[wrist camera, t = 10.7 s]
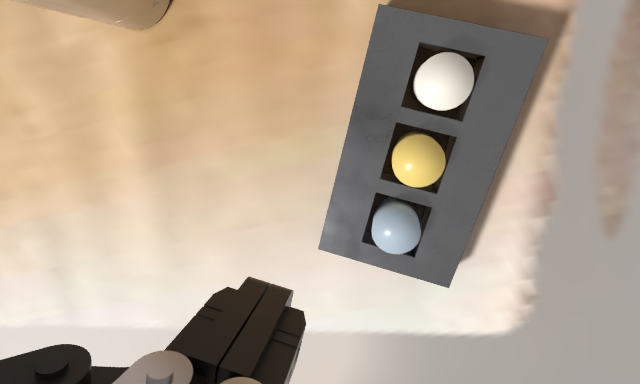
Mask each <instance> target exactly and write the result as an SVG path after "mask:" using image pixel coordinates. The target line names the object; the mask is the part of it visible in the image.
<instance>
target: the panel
mask: <svg viewBox="0 0 640 384" xmlns="http://www.w3.org/2000/svg"><path fill="white" fill-rule="evenodd" d="M547 41H548V39H547V38H542V37H537V36H532V35H527V34H522V33H517V32H512V31H508V30H503V29H498V28H493V27H488V26H483V25H478V24H474V23H469V22H464V21H459V20H454V19H449V18H444V17H439V16H435V15H430V14H425V13H420V12H415V11H410V10H405V9H400V8H396V7H391V6H386V5H381V4H379V5H378V9H377V13H376V18H375V22H374V26H373V30H372V34H371V38H370V42H369V46H368V50H367V54H366V58H365V62H364V66H363V70H362V74H361V78H360V82H359V86H358V90H357V94H356V98H355V102H354V106H353V110H352V114H351V118H350V122H349V127H348V131H347V135H346V139H345V143H344V147H343V151H342V155H341V159H340V163H339V167H338V171H337V175H336V179H335V183H334V187H333V191H332V195H331V199H330V203H329V207H328V211H327V215H326V219H325V223H324V227H323V231H322V236H321V240H320V244H319V248H318V249H320V250H323V251H326V252H330V253H333V254H337V255H340V256H343V257H347V258H350V259H353V260H357V261H360V262H363V263H367V264H370V265H373V266H377V267H380V268H383V269H387V270H390V271H393V272H397V273H400V274H403V275H407V276H410V277H413V278H417V279H420V280H424V281H427V282H430V283H434V284H437V285H440V286H444V287H447V288H449V286H450V284H451V281H452V279H453V276H454V274H455V271H456V269H457V266H458V264H459V261H460V259H461V256H462V254H463V251H464V249H465V246H466V244H467V241H468V239H469V236H470V234H471V231H472V229H473V226H474V224H475V221H476V219H477V216H478V214H479V211H480V209H481V206H482V204H483V201H484V199H485V196H486V194H487V191H488V189H489V186H490V184H491V181H492V179H493V176H494V174H495V171H496V169H497V166H498V164H499V161H500V159H501V156H502V154H503V151H504V149H505V146H506V144H507V141H508V139H509V136H510V134H511V131H512V129H513V126H514V124H515V121H516V119H517V116H518V114H519V111H520V109H521V106H522V104H523V101H524V99H525V96H526V94H527V91H528V89H529V86H530V84H531V81H532V79H533V76H534V74H535V71H536V69H537V66H538V64H539V61H540V59H541V56H542V54H543V51H544V49H545V46H546V44H547ZM418 47H423V48H428V49H432V50H437V51H441V52H452V53H456V54H459V55H461V56H464V57H469V58H474V59H477V61H476V64H475V67H474V70H473V73H474V84H473V88H472V91H471V93H470V94H469V96H468V97H467V99H466V100H465V101H464V102H463V103H462V105H461V108H460V110H459V113H458V116H457V119H453V118H449V117H444V116H440V115H436V114H432V113H428V112H424V111H419V110H415V109H411V108H407V107H403V106H401V104H402V101H403V97H404V94H405V90H406V87H407V83H408V80H409V77H410V73H411V70H412V66H413V63H414V59H415V56H416V52H417V49H418ZM396 122H397V123H401V124H406V125H410V126H414V127H418V128H422V129H426V130H430V131H434V132H438V133H442V134H446V135H450V136H451V137H450V139H449V142H448V145H447V148H446V151H445V159H446V163H445V168H444V171H443V173H442V175H441V176H440V177H439V178H438V179H437V180H436V181H435V183H434V186H431V185H428V186H425V187H411V186H408V185H406V184H404V183H402V182H401V181H400V180H399V179H398V178H397V177H396V176H393V175H389V174H385V173H382V169H383V166H384V163H385V159H386V156H387V152H388V149H389V145H390V142H391V138H392V135H393V132H394V128H395V125H396ZM376 192H377V193H381V194H384V195H388V196H392V197H395V198H399V199H403V200H406V201H410V202H414V203H417V204H421V205H425V206H426V209H425V212H424V215H423V218H422V221H421V224H420V229H421V236H420V240H419V242H418V243H417V245H416V246H415V247H414V248H413V249H412V250H410V251H408V252H406V253H403V254H391V253H387V252H385V251H383V250H382V249H380V248H379V247H378V246H377V245H376V244H375V242H374V240H373V237H372V233H368V232H365V228H366V225H367V221H368V218H369V214H370V211H371V207H372V204H373V200H374V197H375V194H376Z"/></svg>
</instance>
